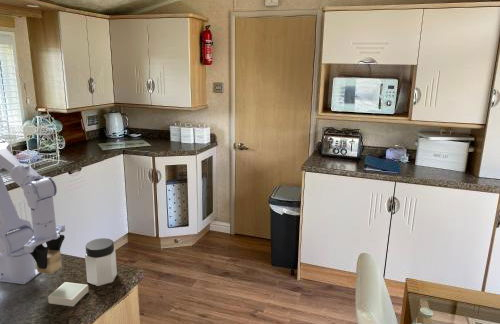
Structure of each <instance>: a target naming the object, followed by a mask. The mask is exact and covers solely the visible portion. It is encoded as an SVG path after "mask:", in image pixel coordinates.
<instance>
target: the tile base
mask: <svg viewBox="0 0 500 324" xmlns="http://www.w3.org/2000/svg"><path fill="white" fill-rule="evenodd" d="M88 293H89V284H86V283H85V284H84V283H75V282H67V281H64V282H63V283H62V284H61V285H60V286H59V287H57V288H56V289H55V290H54V291H52V292H51V293H50V294H49V295H48V296H47V299H48V304H51V305H52V304H53V305H60V306H67V307H75V305H76V304H78V302H79V301H80V300H82V299H83V297H85V295H86V294H88Z"/></svg>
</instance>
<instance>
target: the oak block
mask: <svg viewBox="0 0 500 324" xmlns="http://www.w3.org/2000/svg"><path fill="white" fill-rule="evenodd" d="M61 254H62V253H61V250H60V251H57V250H48V254H47V268H46V269H40V268H39V267H38V265H37V264H36V269H37V271H38V272H40V273H41V274H49V275H52V274H53V273H55V272H56V271H58V270H59V269H61V268H62V266H63V264H62V263H63V262H62V256H61ZM40 273H39V274H40Z"/></svg>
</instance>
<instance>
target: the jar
mask: <svg viewBox="0 0 500 324" xmlns="http://www.w3.org/2000/svg"><path fill="white" fill-rule="evenodd" d="M116 253H117V252H116V248H115V243H114V240H113V239H110V238H105V237H104V238H101V237H100V238H96V239H93V240H90V241H89V242H87V243H86V245H85V255H84V259H85V261H84V262H85V270H86V273H85V274H86V282H87V283H89V284H91V285H93V286H94V285H95V286H96V287H99V286H103V285H107V284H111V283H113V282H114V281H115V279H116V277H117V275H118V271H117V255H116Z"/></svg>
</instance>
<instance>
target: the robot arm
mask: <svg viewBox="0 0 500 324" xmlns="http://www.w3.org/2000/svg"><path fill="white" fill-rule="evenodd" d="M2 169H5V170H7V172H9V173H10V175H9V176H10V179H11V180H12V181H13V182H14V183H15V184H17V185H18V186H19V187H20V188H21V189H22V190H23V195H24V197H25V200H26V202H27V205H28V208H30V214H31V221H30V220H26V219H23V218H21V217H20V216H19V215H18V211H17V210H16V207H15V205H14V203H13V200H12V198H11V195H10V193H9V191H8V188H7V186H6V184H5V182H4V180H3V177H2V174H1V173H0V282H2V283H10V284H11V283H12V284H20V285H25V284H27V283H28V282H30V281H31V280H33V278H35V277H36V276H38V275H39V274H40V272H38V271H37V268H36V266H37V265H38V267H39V268H40V269H46V268H47V254H48V250H57V251H60V252H61V248H62V245H63V243H64V240H65V239H66V237H65V235H64V234H61V233H64V232H65V231H66V226H65V224H57V225H56V214H55V205H54V197H56V194H57V192H58V191H57V185H56V182H55V181H54V179H53V178H52V177H51V176H46V175H43V176H42V175H41V174H40V173H38V171H36V170H35V169H34V168H33V167H31V166H30V165H29V164H26V163H21V162H20V161H19V160H18V159H17V158H16V157H15V155H14V154H13V153H12V149H11V145H10V144H9V142H8V141H7V140H6V139H4V138H0V171H1V170H2ZM31 222H32V224H31ZM45 243H46V246H44V245H43V244H45ZM35 263H36V266H35Z"/></svg>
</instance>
